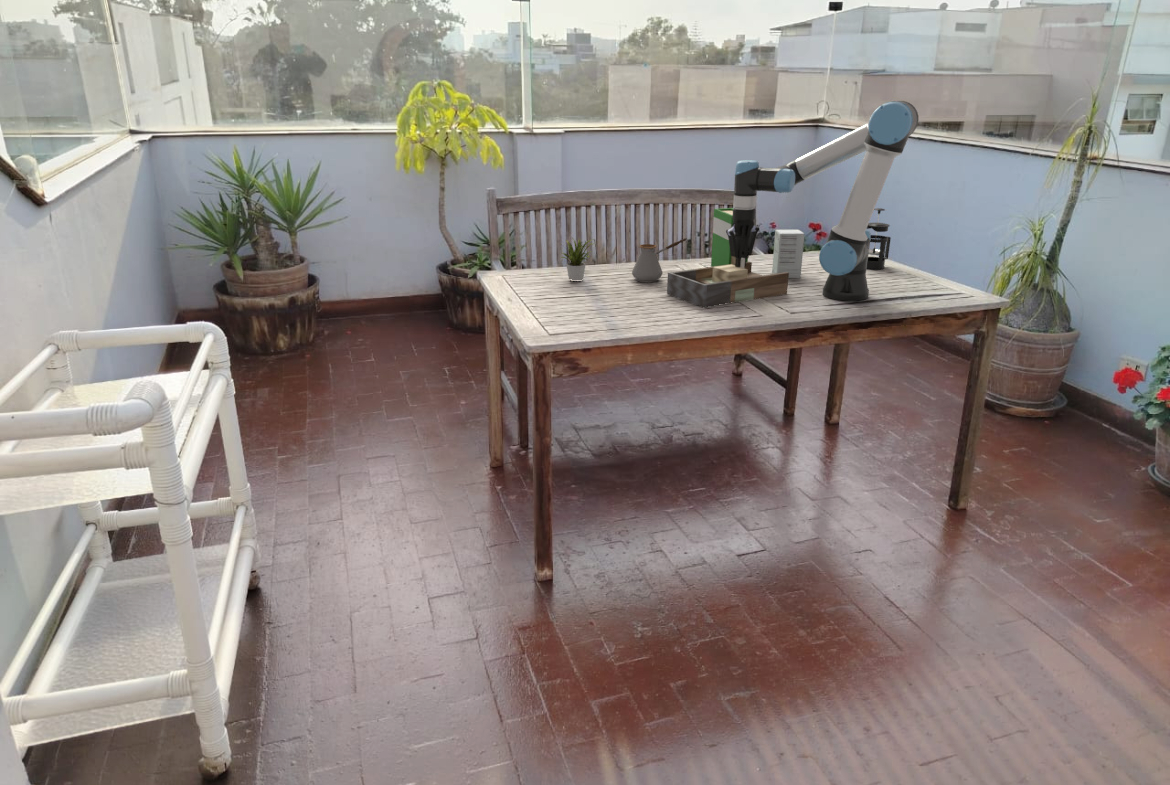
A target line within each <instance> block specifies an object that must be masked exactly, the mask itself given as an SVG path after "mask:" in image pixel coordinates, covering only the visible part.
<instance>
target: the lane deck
mask: <svg viewBox="0 0 1170 785" xmlns="http://www.w3.org/2000/svg"><path fill="white" fill-rule="evenodd" d="M728 265H735V264H728ZM752 265H753V262H752V261H748V262H746V266H745V267H744V268H745V269H748V273H747V278H742V279H735V280H728V281H721V282H713V281H712V275H713V267H716V266H713V267H711V266H708V267H701V268H693V269H692V268H691V269H685V270H678V271H676V270H675V271H669V272H667V284H666V285H667V286H666V287H667V288H666V294H667V295H669V296H671V297H674V298H676V299H679V300H682V301H684V300H685V302H687V303H690V304H692V303H693V305H695V304H696V305H695V306H698V305H699V306H698V307H700V306H702V307H701V308H703V307H705V308H709V307H708V306H711V307H715V306H714V305H717V306H720V305H719V304H723V305H726V304H725V303H730V304H732V303H731V302H736V303H740V302H739V301H742V302H746V300H748V301H753V300H758V299H759V298H760V299H765V298H771V297H778V296H777V295H779V296H783V294H785V295H788V285H789V279H790V278H789V273H788V272H783V273H776V274H772V273H770V274H761V273H756V272H753V271H752V269H753V268H752ZM721 266H724V265H721Z"/></svg>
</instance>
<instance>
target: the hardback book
mask: <svg viewBox="0 0 1170 785" xmlns="http://www.w3.org/2000/svg"><path fill="white" fill-rule="evenodd" d="M734 208H735V207H726V208H724V207H723V208H721V207H720V208H714V209H713V224H712V225H713V226H712V244H711V260H710V267H713V266H721V265H728V264H735V260H736V258H735V257H733V256H731V253H730V246H729V239H728V235H727V233H726V230H729V229H731V228H732V224H733V218H732V217H733V209H734ZM746 262H749V258H746Z"/></svg>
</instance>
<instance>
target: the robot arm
mask: <svg viewBox="0 0 1170 785" xmlns="http://www.w3.org/2000/svg"><path fill="white" fill-rule="evenodd" d="M918 113H919V112H918V110H917V108H916V107H915V106H914V105H913V104H912V103H910V102H908V101H904V100H896V101H895V100H894V101H886V102H885V103H883V104H881V105H879V106H878V107H877V108H876V109H875V110H874V111H873V112H872V114H871V116H870V118H869V120H868V122H867V123H865V124H864V125H862V126H859V127H857V128H856V129H855V128H854V130H852V131H849V132H848V133H846V134H843V135H841V136H840V137H838V138H836V139H833V140H832V141H830V142H828V143H826V144H823V145H822V146H820V147H818V148H816V149H814V150H812V151H810V152H808V153H806V154H804V155H802V156H800V157H798V158H796V159H793V160H792V161H790V162H788V163H786V164H784V165H782V166H778V167H761V166H760V165H759V164H760V162H759V161H758V160H753V159H752V160H751V159H743V160H742V159H740V160H738V161H737V162H736V164H735V172H734V188H733V189H734V191H733V204H732V205H733V208H734V209H733V217H732V218H733V224H732V228H731V229H729V230H726V233H727V235H728V239H729V246H730V253H731V256H733V257H735V258H736V260H735V267H741V268H744V267H745V266H746V258H748V259H749V258H750V256H751V255H753V254H752V253H753V251H754V250H753V249H754V245H755V242H756V239H757V235H758V233H759V232H760V227H758V226H756V225H755V222H754V221H755V219H756V209H755V208H756V206H757V192H773V193H779V194H783V193H785V194H786V193H787V194H789V193H791V192H792V191H793V189H794V187H795V186H796V185H798V184H800V183H801V182H805V180H808V179H809V178H812V177H814V176H816V175H818V174H820V173H822V172H824V171H826V170H829V169H830V168H832V167H835V166H837V165H840V164H841V163H843V162H845V161H848V160H849V159H851V158H854V157H856V156H857V155H860V154H862V153H864V152H865V153H864V156H863V159H862V161H861V163H860V167H859V170H858V172H857V175H856V177H855V180H854V183H853V185H852V188H851V191H850V193H849V196H848V198H847V201H846V203H845V206H844V209H843V212H842V214H841V216H840V219H839V222H838V224H836V225H834V226H832V227H831V230H830V232H829V235H828V236H827V240H826V242H825V244H823V246H822V247H821V249H820V251H819V254H818V260H819V264H820V266H821V268H822V269H823V270H824V271H825V272H826V273H827V274H828V275H827V276H828V277H827V279H826V281H825V283H824V284H825V285H824V286H823V287H822V288H823V289H822V295H823V296H824V297H826V298H828V297H829V299H832V298H833V300H837V299H840V300H839V301H848V302H850V301H851V302H853V301H854V302H855V301H857V300H858V301H864V300H866V299H868V298H869V296H870V295H869V294H870V289H869V288H868V280H867V279H868V278H867V269H866V268H867V261H868V257H869V254H868V253H869V249H870V246H871V242H870V241H871V239H872V238H870V236H871V235H872V234H871V231H870V230H869V229H866V228H867V226H868V223H870V221H871V218H872V217H873V216H872V215H873V214H874V211H875V210H874V209H876V208H875V207H876V206H877V203H878V201H879V198H880V195H881V193H882V191H883V187H884V185H885V183H886V180H887V177H888V175H889V173H890V170H891V168H892V165H893V163H894V161H895V158H896V157H898V156H900V155H902V154H903V151H904V149H905V147H906V144H907V142H908V139H909V137H910V136H912V134H913V133H915V131H916V129H917V127H918V125H919V114H918ZM869 245H870V246H869ZM858 301H857V302H858Z"/></svg>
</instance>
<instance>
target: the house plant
mask: <svg viewBox="0 0 1170 785" xmlns="http://www.w3.org/2000/svg"><path fill="white" fill-rule="evenodd" d="M571 239H572V240H573V243H574V248H575V249H574V248H573V244H572V243H570V242H569V240H567V239H565V241H566V244H567V247H568V254H567V253H565V252H561V254H562V255H564V256H560V258H563V259H565V260H567V261H568V263H566V271H567V276H568V280H569V279H572V280H582V279H583V280H584V276H585V269H586V263H585V262H583V260H586V261H588V259H587V258H586V257H588V258H590V255H589V254H590V253H591V252H592V253H593V250H592V251H588V252H587V253H585V252H586V251H587V249H588V248H589V247H591V246H592V245H594V244H595V243H593V242H591V241H594V240H595V239H589V240H587V241H585V243H584V244H583V241H581V239H580V238H578V240H577V242H576V241H575V239H574V238H573V237H572V236H571ZM590 242H591V243H590ZM558 244H559V245H562V246H563V244H562V243H558Z"/></svg>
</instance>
